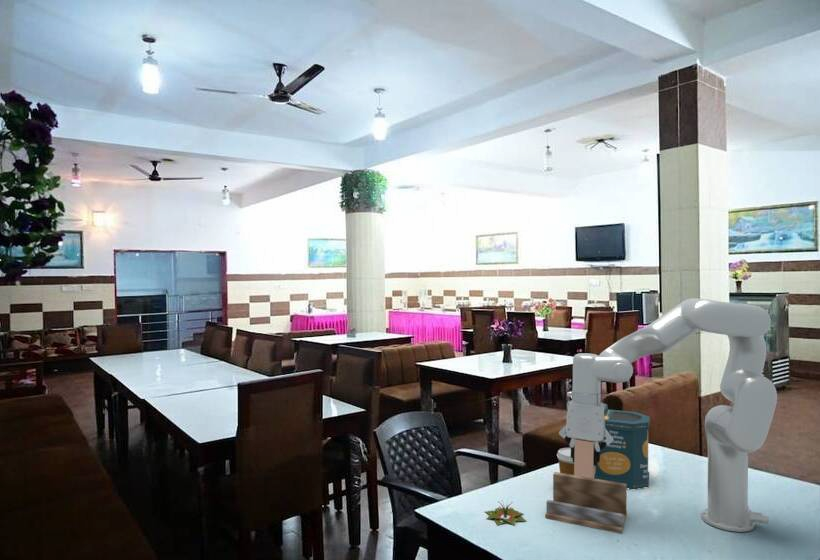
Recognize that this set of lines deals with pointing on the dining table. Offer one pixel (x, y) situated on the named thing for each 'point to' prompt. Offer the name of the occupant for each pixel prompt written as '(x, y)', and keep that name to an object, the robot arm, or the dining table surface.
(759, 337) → the robot arm
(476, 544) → the dining table surface
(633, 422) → the donation box
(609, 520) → the cleat board
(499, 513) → the lily flower
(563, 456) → the disposable coffee cup
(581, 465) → the terracotta block
